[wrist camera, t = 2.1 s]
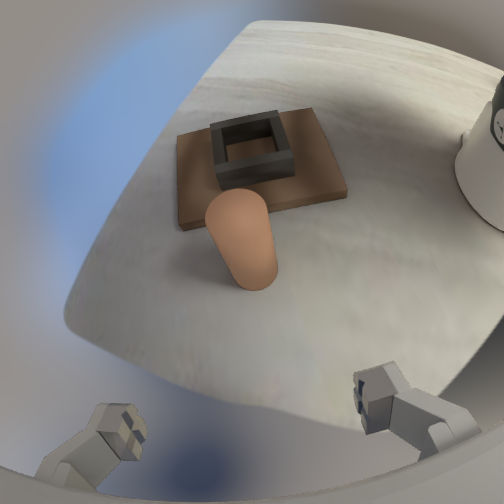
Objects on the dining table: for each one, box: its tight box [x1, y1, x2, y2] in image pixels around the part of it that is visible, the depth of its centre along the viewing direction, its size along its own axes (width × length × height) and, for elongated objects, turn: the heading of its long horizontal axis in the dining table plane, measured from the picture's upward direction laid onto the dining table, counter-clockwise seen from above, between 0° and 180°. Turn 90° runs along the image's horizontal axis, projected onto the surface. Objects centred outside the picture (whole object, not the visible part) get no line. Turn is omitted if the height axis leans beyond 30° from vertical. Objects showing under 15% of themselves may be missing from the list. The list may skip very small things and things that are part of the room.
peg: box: [205, 189, 278, 291], centre depth 26 cm, size 4×4×10 cm
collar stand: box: [177, 108, 348, 231], centre depth 34 cm, size 18×14×4 cm
